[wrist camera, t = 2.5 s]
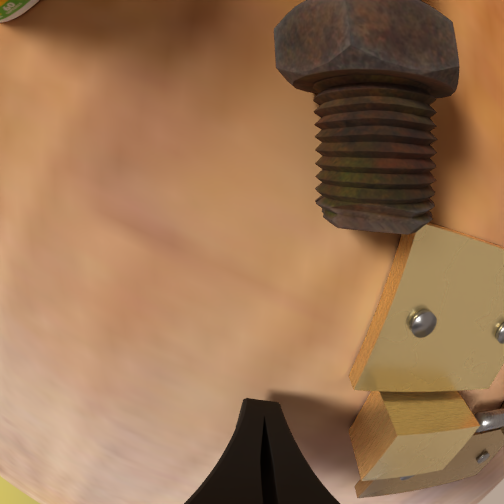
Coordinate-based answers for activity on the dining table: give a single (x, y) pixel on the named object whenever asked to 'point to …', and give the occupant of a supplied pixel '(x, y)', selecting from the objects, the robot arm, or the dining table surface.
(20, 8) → the supplement bottle
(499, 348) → the loose leaf
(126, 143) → the dining table surface
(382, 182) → the bolt
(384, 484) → the fixed leaf
